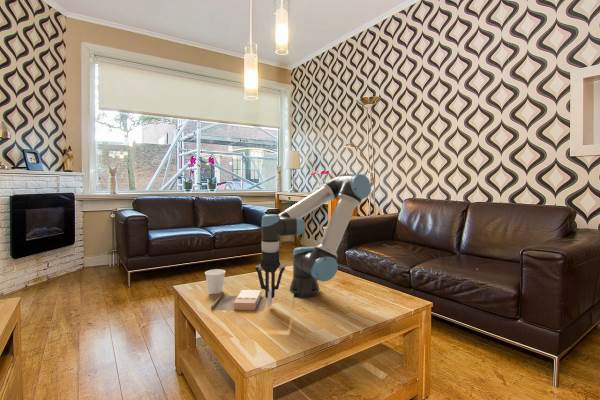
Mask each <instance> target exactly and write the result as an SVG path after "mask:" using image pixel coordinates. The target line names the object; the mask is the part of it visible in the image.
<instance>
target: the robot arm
mask: <svg viewBox="0 0 600 400" xmlns="http://www.w3.org/2000/svg"><path fill="white" fill-rule="evenodd" d="M371 189H372V185H371V182H370V180H369V178H368V177H367V176H366V175H364V174H362V173H352V174H351V173H350V174H345V173H343V174H339V175H337V176H335V177H333V178H331V179H330V180H327V182H325V183H323V184H322V185H321V188H319V189H317V190H315V191H314V192H312V193H311V194H309V195H308V196H305V197H304V198H303V199H301V200H300V201H298V202H297V203H295V204H293V205H292V206H290V207H288V208H287V209H284V211H282V212H280V213H278V214H275V213H274V214H272V213H270V214H269V213H267V214H263V215H262V217H261V225H260V226H261V261H260V264H258V265H256V266H255V268H254V270H255V271H256V272H257V276H258V281H259V285H260V290H264V291H265V293H264V295H265V296H264V297H266V298H268V299H267V306H268V307H272V305H273V299H275V294H276V292H275V291H276V290H279V288H280V283H281V279H282V276H283V273H284V272H285V269H286V266H284V265H282V264H281V262H280V251H279V250H280V237H284V236H285V237H287V236H299V235H303V234H305V230H306V223H305V220H304V219H303V218H304V217H306V216H307V215H309V214H311V212H314V211H315V210H317V209H318V208H319V207H321V206H323V205H324V204H325V203H327V202H331V201H334V200H335V199H338V201H337V203H336V206H335V208H334V211H333V213H332V215H331V217H330V220H329V222H328V224H327V226H326V229H325V231H324V233H323V235H322V237H321V240H320V242H319V244H318V245H315V246H301V247H300V246H299V247H295V248H294V249H293V252H292V253H293V254H292V258H293V259H292V262H293V263H292V265H293V268H292V271H293V272H292V273H293V274H292V279H291V283H290V285H289V292H290V293H291V294H293V296H294V297H297V298H312V296H313V297H316V296H318V295H320V286H319V282H318V281H321V282H328V281H330V280H332V279H333V278H334V277H335V275H336V274H337V273H338V268H339V265H338V262H337V259H338V253H337V251H338V249H339V246H340V244H341V242H342V239H343V237H344V235H345V232H346V229H347V228H348V225H349V223H350V221H351V218H352V217H353V216H352V215H353V213H354V210H355V208H356V207H358V206H360V205H361V202H362V200H364V199H366V198H368V197H369V196H370V194H371V191H372V190H371ZM262 270H263V271H264V274H265V275H264V276H265V281H264V277H263V273H262ZM277 270H279V273H278V278H277V281H276V279H275V278H276V271H277ZM270 274H271V278H270ZM270 279H271V281H270ZM270 282H271V288H270ZM275 283H276V284H275ZM317 294H318V295H317ZM315 295H316V296H315Z"/></svg>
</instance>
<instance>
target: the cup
mask: <svg viewBox="0 0 600 400" xmlns="http://www.w3.org/2000/svg"><path fill="white" fill-rule="evenodd" d="M204 274H205V278H206V284H207V290H208V295H209V296H211V295H213V294H214V295H216V294H220V293H221V294H222V292H223V289H224V288H223V287H224V282H225V275H226V270H224V269H222V268H220V269H218V268H215V269H210V270H209V269H208V270H206V271H204Z"/></svg>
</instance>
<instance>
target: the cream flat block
mask: <svg viewBox="0 0 600 400" xmlns="http://www.w3.org/2000/svg"><path fill="white" fill-rule="evenodd" d="M237 296H238V297H237V298H240V299H257V304H258V302H259V300H260V297H261V296H262V289H241V290H240V292H239V294H238V295H237Z"/></svg>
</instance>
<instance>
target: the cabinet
mask: <svg viewBox="0 0 600 400" xmlns="http://www.w3.org/2000/svg"><path fill="white" fill-rule="evenodd" d="M256 306H257V299H240V298H237V299H236V300H235V302H234V310H233V311H243V310H255V309H256Z"/></svg>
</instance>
